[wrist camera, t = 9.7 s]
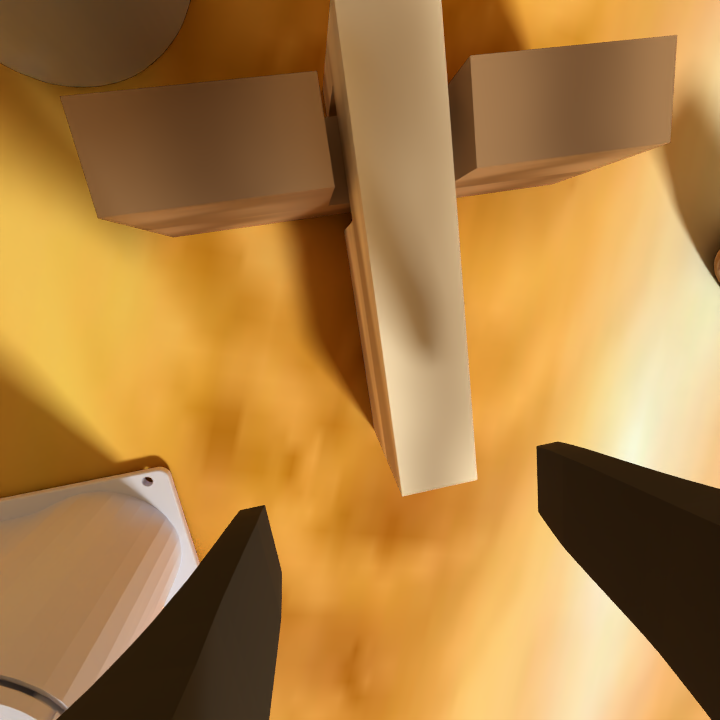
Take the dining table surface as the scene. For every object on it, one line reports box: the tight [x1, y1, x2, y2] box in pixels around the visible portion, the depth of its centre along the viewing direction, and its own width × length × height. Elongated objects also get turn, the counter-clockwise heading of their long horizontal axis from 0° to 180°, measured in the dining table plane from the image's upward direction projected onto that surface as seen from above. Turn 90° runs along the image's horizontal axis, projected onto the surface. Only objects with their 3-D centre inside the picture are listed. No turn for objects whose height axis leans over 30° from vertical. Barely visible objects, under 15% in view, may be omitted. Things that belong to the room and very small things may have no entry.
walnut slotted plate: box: [60, 35, 677, 237], centre depth 14 cm, size 18×3×6 cm, turn 99°
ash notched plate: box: [323, 0, 477, 496], centre depth 15 cm, size 3×16×6 cm, turn 9°
